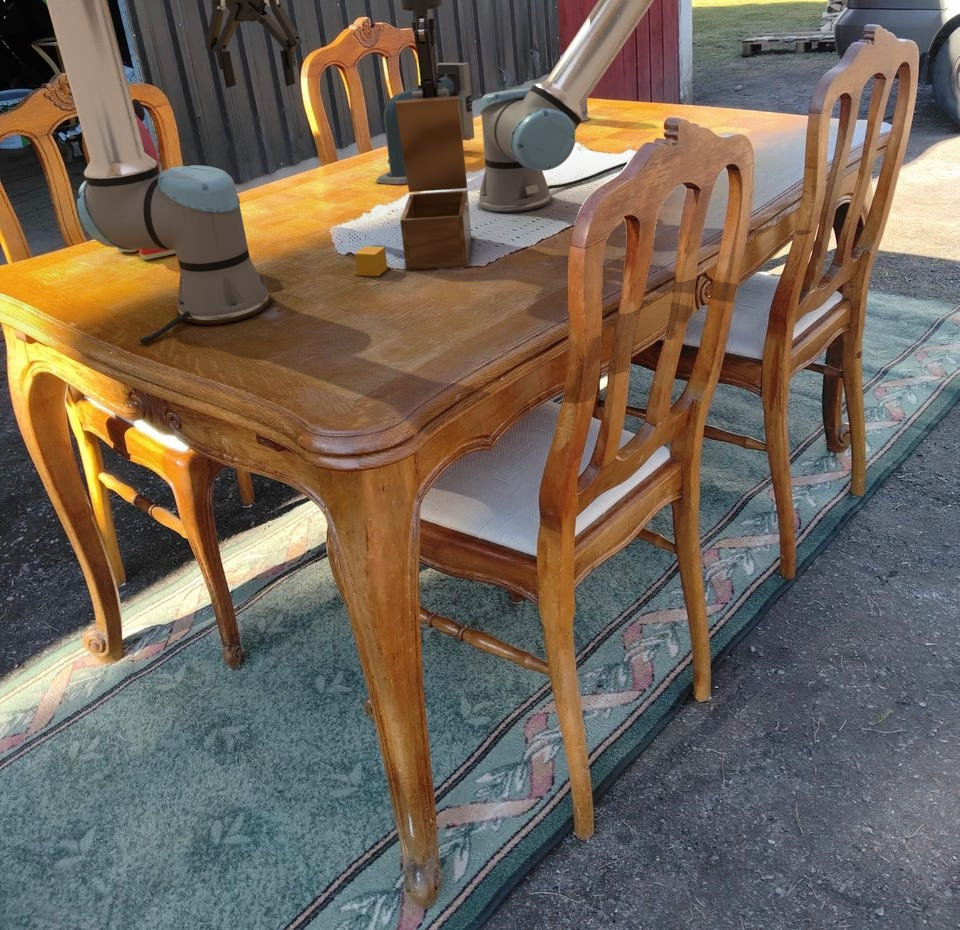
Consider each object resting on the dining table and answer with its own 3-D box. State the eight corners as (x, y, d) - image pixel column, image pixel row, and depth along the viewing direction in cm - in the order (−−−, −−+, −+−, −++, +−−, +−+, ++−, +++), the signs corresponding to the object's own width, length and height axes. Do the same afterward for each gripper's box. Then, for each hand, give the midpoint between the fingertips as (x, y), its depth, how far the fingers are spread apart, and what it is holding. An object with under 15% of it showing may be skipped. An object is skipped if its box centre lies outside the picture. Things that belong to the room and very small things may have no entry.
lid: (457, 98, 172) (459, 75, 177) (395, 103, 172) (398, 79, 178) (467, 188, 185) (468, 163, 191) (409, 192, 186) (411, 167, 192)
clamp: (404, 184, 229) (393, 89, 218) (373, 182, 232) (361, 89, 222) (475, 149, 254) (468, 62, 243) (446, 148, 258) (439, 62, 247)
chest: (467, 266, 176) (463, 216, 171) (405, 270, 176) (400, 220, 172) (471, 237, 191) (467, 190, 186) (414, 240, 191) (409, 193, 187)
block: (378, 276, 175) (375, 254, 173) (357, 275, 176) (354, 253, 174) (387, 268, 178) (384, 247, 176) (367, 267, 179) (364, 246, 177)
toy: (201, 251, 195) (166, 95, 180) (157, 266, 189) (116, 105, 173) (147, 235, 208) (109, 88, 193) (104, 248, 202) (61, 97, 187)
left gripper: (306, -38, 184) (324, 80, 195) (193, -30, 192) (216, 83, 202) (289, -34, 178) (308, 87, 189) (172, -27, 185) (197, 90, 196)
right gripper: (438, -15, 163) (451, 129, 175) (444, -22, 176) (455, 113, 188) (394, -11, 164) (410, 132, 176) (403, -18, 177) (417, 116, 189)
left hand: (260, 85), depth 196 cm, fingers open, 13 cm apart
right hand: (433, 122), depth 182 cm, fingers closed on lid, 2 cm apart
